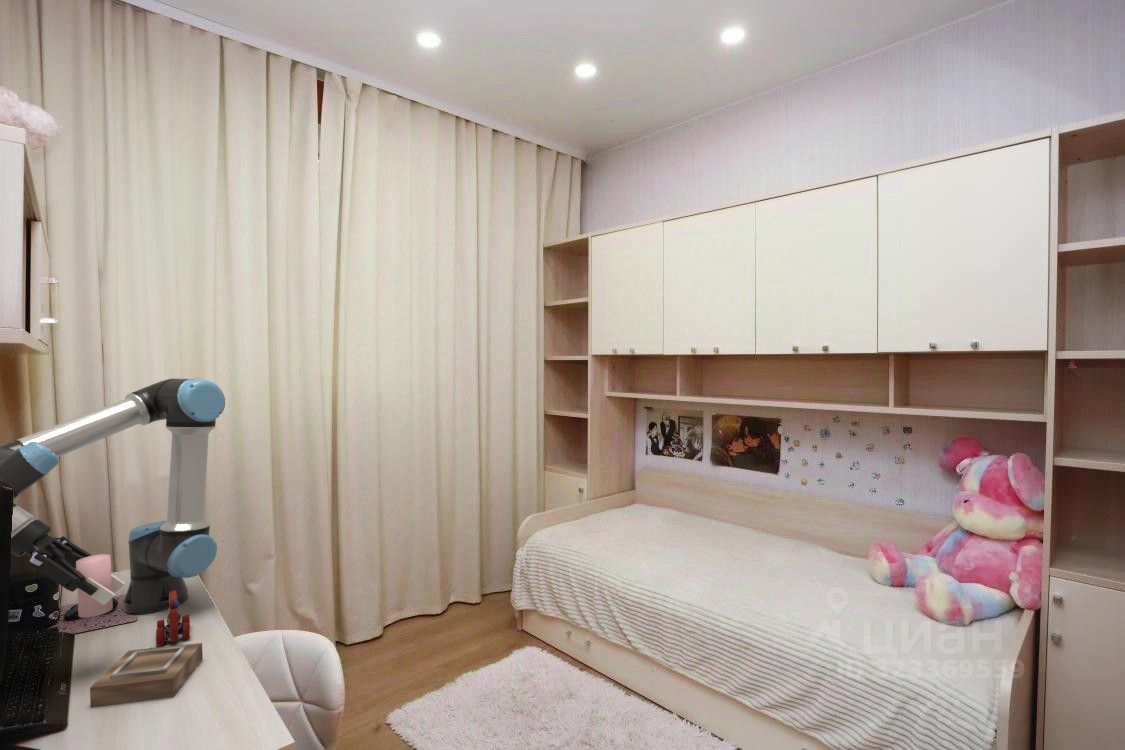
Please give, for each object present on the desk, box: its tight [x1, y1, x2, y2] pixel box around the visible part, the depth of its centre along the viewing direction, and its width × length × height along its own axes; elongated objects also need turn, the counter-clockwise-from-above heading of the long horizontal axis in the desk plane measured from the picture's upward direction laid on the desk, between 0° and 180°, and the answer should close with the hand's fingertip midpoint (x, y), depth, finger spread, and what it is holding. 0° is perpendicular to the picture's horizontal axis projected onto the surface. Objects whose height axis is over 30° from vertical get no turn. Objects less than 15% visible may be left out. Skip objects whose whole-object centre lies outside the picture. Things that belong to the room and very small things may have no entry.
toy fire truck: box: [155, 590, 191, 647], centre depth 144 cm, size 7×12×10 cm, turn 34°
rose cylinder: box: [75, 553, 114, 619], centre depth 129 cm, size 6×6×12 cm
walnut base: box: [89, 642, 204, 708], centre depth 125 cm, size 15×15×5 cm
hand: (114, 593), depth 131 cm, fingers closed on rose cylinder, 6 cm apart
